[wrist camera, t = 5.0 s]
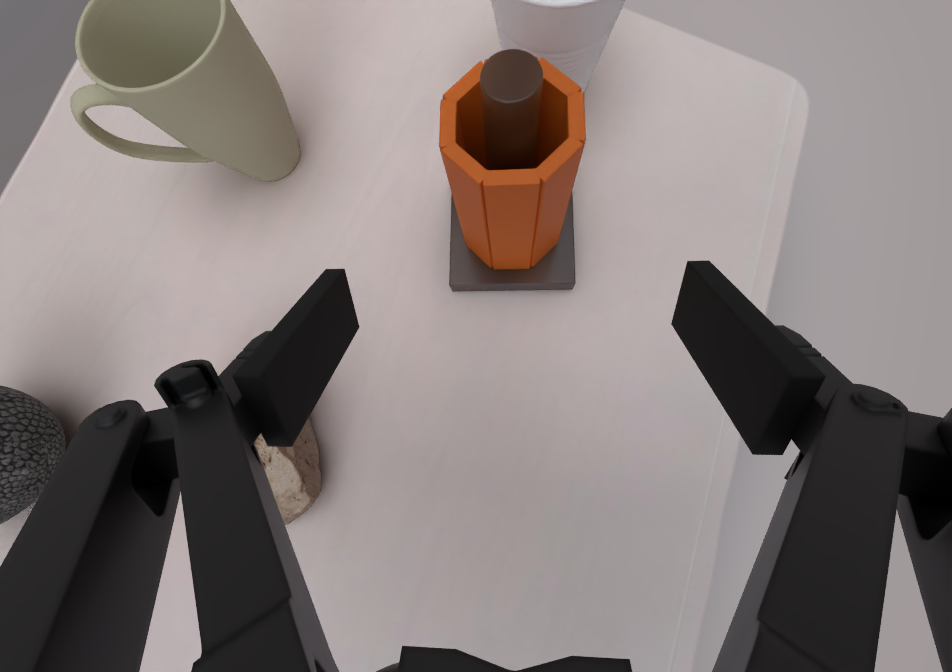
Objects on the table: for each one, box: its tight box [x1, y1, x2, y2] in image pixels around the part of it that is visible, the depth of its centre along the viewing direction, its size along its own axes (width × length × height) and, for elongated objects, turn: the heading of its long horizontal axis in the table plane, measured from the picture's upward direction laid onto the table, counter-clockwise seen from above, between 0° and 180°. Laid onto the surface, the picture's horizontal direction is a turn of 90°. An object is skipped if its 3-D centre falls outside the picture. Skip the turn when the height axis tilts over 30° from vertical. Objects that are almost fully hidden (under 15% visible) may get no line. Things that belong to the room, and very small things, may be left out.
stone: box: [254, 418, 322, 525], centre depth 27 cm, size 9×11×5 cm
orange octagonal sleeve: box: [439, 56, 586, 270], centre depth 24 cm, size 7×7×11 cm
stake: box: [449, 49, 575, 291], centre depth 24 cm, size 9×9×15 cm
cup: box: [491, 0, 625, 93], centre depth 28 cm, size 10×10×11 cm
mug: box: [70, 0, 300, 181], centre depth 28 cm, size 11×10×12 cm
